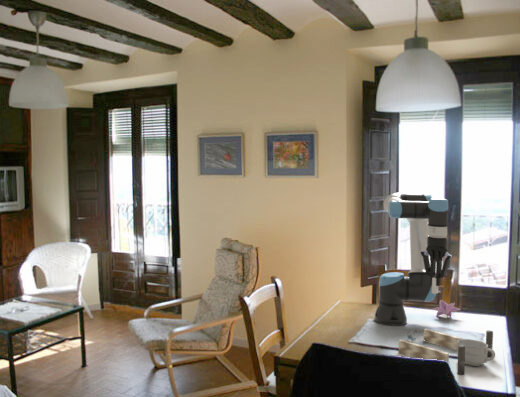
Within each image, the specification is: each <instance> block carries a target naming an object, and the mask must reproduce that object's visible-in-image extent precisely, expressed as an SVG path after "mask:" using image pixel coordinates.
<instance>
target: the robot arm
mask: <svg viewBox="0 0 520 397" xmlns="http://www.w3.org/2000/svg"><path fill="white" fill-rule="evenodd" d="M382 207H383V209H384V211H385V212H386V213H388V217H389V218H391V219H406V220H407V221H408V222H409V238H410V239H409V240H410V245H409V246H410V269H409V271H408V272H407V276H406V275H405V274H404V273H403V272H398V271H397V272H396V271H395V272H394V271H393V272H385V273H383V274H381V275H380V277H379V282H378V305H377V308H376V311H375V313H374V321H375V322H376V323H378V324H382V325H386V326H403V325H405V324H407V322H408V317H407V315H406V310H405V307H404V302H406V301H409V302H423V303H424V302H426V303H427V302H429V303H430V302H433V301H434V300H435V298H436V297H437V296H436V295H437V294H439V287H440V286H441V284H442V278H445V277H446V276H447V273H448V270H449V266H450V263H451V261H452V259H453V255H452V254H450V253H449V252H448V249H447V245H448V244H447V243H448V238H447V236H448V222H449V221H448V220H449V209H450V208H449V200H448V199H447V198H439V197H438V198H437V197H435V198H433V197H432V195H431V194H430V193H427V192H402V191H401V192H394V193H391V194H388V195H387V196H386V197H385V198H384V199H383V201H382ZM443 258H444V259H443Z"/></svg>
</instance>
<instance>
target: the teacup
mask: <svg viewBox="0 0 520 397" xmlns="http://www.w3.org/2000/svg"><path fill="white" fill-rule="evenodd" d="M457 343H458V344H457V350H456V352H457V354H456V355H457V356H458V345H463V346H465V365H468V366H472V367H473V366H474V367H480V366H482V365H483V364H486V363H488V362H490V361H493V360H494V359H495V357H496V352H495V351H494V349H493V348H492V349H490V348H488V345H487V344H486V342H483V341H480V340H476V339H469V338H463V339H460V340H458V341H457ZM488 351H490V352H491V353H492V356H491V357H487V353H488Z"/></svg>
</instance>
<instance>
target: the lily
mask: <svg viewBox="0 0 520 397" xmlns="http://www.w3.org/2000/svg"><path fill="white" fill-rule="evenodd" d="M455 304H456V302H451V303H449V304H448V303H447V302H446V301H444V300H443V299H440V300H439V306H437V307H433V308H432V310H434V311H437V312H436V315H435V316H436V317H439V316H442V315H446V319H447V321H449V318H452V315H453V314H452V313H453V312H457V311H461V308H459V307H457V306H455Z"/></svg>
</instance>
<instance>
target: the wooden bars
mask: <svg viewBox="0 0 520 397" xmlns="http://www.w3.org/2000/svg"><path fill="white" fill-rule="evenodd" d="M485 335H486V336H485V337H486V338H485V343H486V344H487V345H488V348H490V349H492V350H493V348H494V346H493V344H494V343H493V342H494V339H493V338H494V331H493V330H488V329H487V330H486V331H485ZM460 339H464V338H463V337H458V336H455V335H451V334H448V333H443V332H439V331H435V330H432V329H429V328H424V329H423V341H424V340H425V341H427V342H426V343H430V344H433V345H437V346H439V347H443V346H444V348H448V349H451V350H455V351H457V344H458V343H457V341H458V340H460ZM425 341H424V342H425ZM397 348H398V354H400V355H401V354H402V355H405V356H408V357H411V358H413V359H414V358H415V359H417V358H423V359H437V360H444V361H447V362H449V360H450V358H449V357H450V353H449V352H446V351H442V350H438V349H436V348H431V347H428V346H425V345H422V344H417V343H414V342H411V341H406V340H403V339H398V347H397ZM491 356H492V353H491V352H490V351H488V353H487V358H490V357H491ZM449 363H450V362H449ZM465 370H466V364H465V346H463V345H458V355H457V370H456V371H457V372H456V373H457V375H460V376H464V375H465V374H466V373H465Z"/></svg>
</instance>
